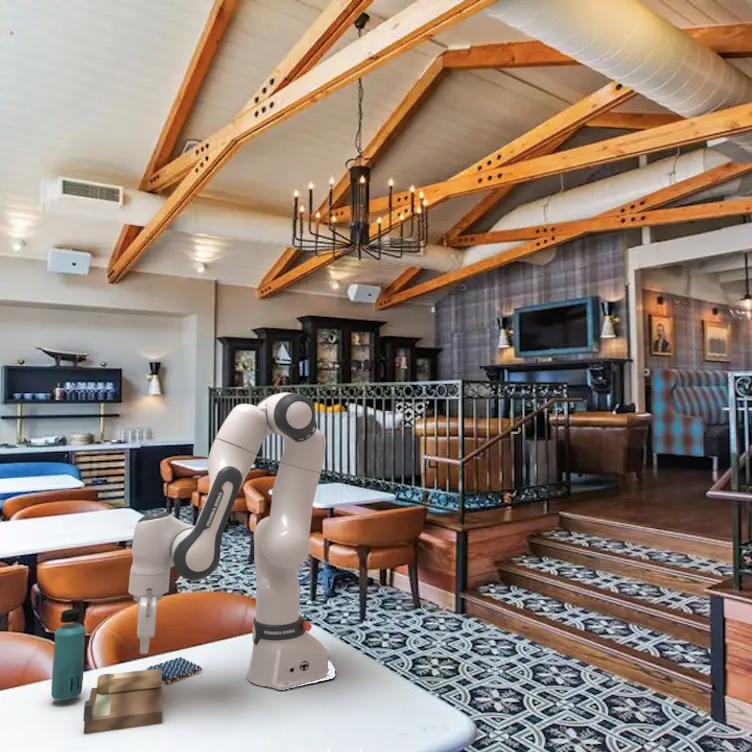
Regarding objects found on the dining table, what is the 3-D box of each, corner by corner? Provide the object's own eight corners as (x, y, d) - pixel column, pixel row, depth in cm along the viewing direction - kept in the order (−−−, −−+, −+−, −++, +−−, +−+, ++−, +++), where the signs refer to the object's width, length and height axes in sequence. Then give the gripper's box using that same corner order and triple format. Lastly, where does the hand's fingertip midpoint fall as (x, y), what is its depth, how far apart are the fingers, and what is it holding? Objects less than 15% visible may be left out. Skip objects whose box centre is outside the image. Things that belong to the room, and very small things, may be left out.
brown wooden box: (160, 691, 145) (161, 667, 145) (161, 723, 130) (163, 696, 130) (90, 699, 140) (91, 674, 140) (82, 734, 125) (84, 706, 125)
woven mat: (204, 674, 156) (204, 666, 156) (166, 687, 148) (167, 678, 148) (181, 662, 163) (181, 655, 163) (144, 675, 155) (144, 666, 155)
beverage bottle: (69, 709, 135) (74, 616, 136) (42, 705, 136) (48, 613, 138) (88, 696, 142) (93, 607, 143) (63, 692, 143) (68, 605, 144)
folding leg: (96, 694, 136) (96, 680, 136) (97, 688, 139) (98, 674, 140) (161, 687, 141) (162, 673, 141) (161, 681, 144) (161, 667, 144)
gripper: (164, 595, 134) (159, 661, 133) (162, 572, 153) (158, 629, 152) (133, 597, 132) (127, 663, 131) (135, 573, 151) (130, 631, 150)
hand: (144, 645), depth 142 cm, fingers open, 8 cm apart
